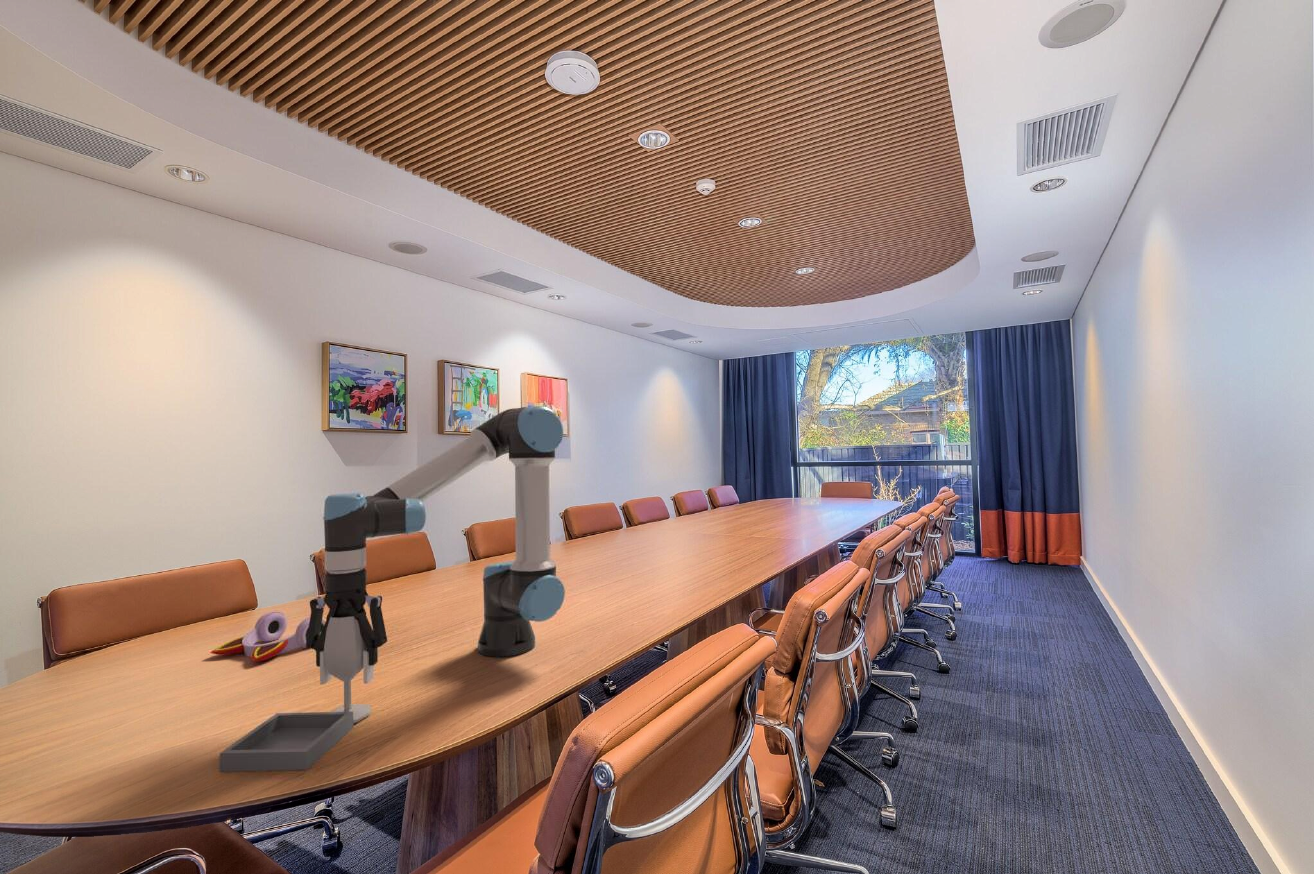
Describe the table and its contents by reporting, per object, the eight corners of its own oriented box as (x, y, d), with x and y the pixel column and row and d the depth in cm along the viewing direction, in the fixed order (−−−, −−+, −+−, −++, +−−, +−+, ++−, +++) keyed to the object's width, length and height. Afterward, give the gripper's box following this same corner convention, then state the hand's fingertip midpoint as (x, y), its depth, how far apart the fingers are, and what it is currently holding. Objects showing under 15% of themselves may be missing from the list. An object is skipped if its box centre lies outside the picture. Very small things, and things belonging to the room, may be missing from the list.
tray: (353, 727, 115) (353, 711, 115) (307, 769, 100) (307, 751, 100) (277, 729, 115) (276, 713, 115) (219, 771, 100) (219, 753, 100)
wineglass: (335, 709, 123) (334, 608, 123) (378, 706, 124) (376, 607, 124) (314, 728, 114) (313, 621, 115) (361, 726, 115) (359, 619, 116)
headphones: (330, 614, 167) (260, 626, 149) (327, 650, 166) (256, 666, 148) (283, 609, 175) (211, 619, 156) (279, 643, 173) (206, 657, 155)
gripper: (404, 564, 123) (406, 673, 123) (306, 566, 123) (307, 675, 123) (388, 572, 116) (390, 688, 116) (283, 574, 116) (284, 690, 116)
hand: (347, 681), depth 119 cm, fingers closed on wineglass, 8 cm apart
